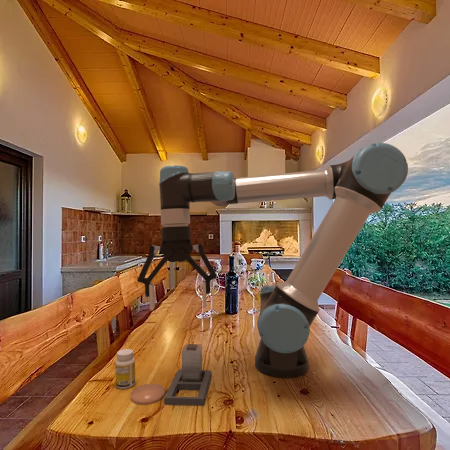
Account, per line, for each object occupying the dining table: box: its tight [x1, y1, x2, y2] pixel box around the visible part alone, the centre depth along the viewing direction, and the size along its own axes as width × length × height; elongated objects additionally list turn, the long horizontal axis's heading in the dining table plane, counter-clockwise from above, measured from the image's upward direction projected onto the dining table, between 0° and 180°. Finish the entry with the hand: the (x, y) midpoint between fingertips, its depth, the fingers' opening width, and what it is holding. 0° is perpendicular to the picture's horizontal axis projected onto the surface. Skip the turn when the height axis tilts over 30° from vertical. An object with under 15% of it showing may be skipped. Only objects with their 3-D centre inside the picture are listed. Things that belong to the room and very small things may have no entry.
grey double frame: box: [163, 369, 212, 407], centre depth 79 cm, size 9×14×2 cm, turn 176°
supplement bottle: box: [115, 348, 136, 390], centre depth 81 cm, size 5×5×8 cm
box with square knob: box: [181, 343, 203, 382], centre depth 82 cm, size 4×4×9 cm
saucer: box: [130, 383, 166, 405], centre depth 76 cm, size 8×8×1 cm
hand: (178, 307), depth 82 cm, fingers open, 13 cm apart
